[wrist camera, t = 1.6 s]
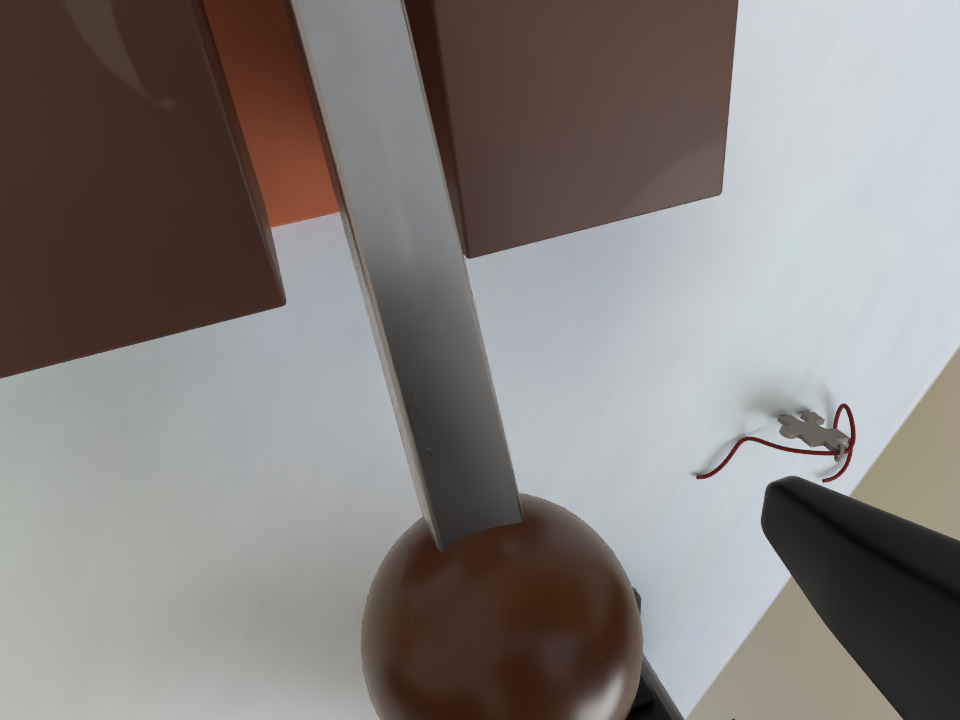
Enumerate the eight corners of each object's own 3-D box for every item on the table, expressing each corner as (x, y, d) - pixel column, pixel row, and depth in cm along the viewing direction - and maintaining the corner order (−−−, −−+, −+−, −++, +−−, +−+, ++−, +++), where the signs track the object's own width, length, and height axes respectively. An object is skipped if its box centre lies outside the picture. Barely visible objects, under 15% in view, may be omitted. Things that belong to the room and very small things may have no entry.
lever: (590, 623, 11) (724, 794, 8) (384, 706, 10) (430, 937, 7) (324, -619, 7) (351, -1374, 4) (-34, -637, 7) (-397, -1609, 3)
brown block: (591, 145, 17) (735, 212, 12) (21, 273, 14) (-75, 426, 9) (584, -143, 14) (775, -200, 9) (-159, -55, 11) (-443, -72, 6)
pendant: (879, 388, 26) (939, 426, 24) (839, 475, 29) (891, 516, 26) (718, 406, 24) (769, 451, 22) (686, 500, 26) (730, 549, 24)
